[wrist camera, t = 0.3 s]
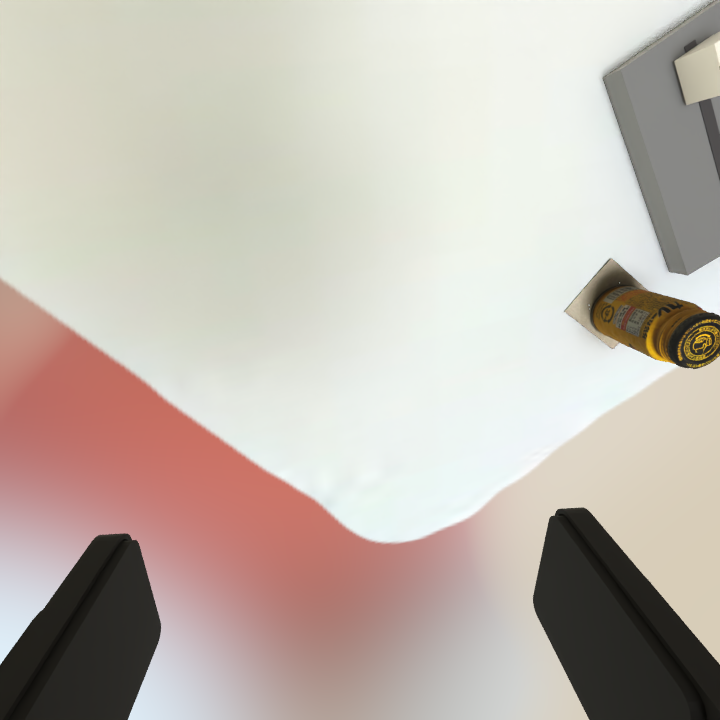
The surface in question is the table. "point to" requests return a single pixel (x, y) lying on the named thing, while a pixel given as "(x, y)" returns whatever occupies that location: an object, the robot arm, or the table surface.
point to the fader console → (673, 144)
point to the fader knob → (700, 70)
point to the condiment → (646, 320)
